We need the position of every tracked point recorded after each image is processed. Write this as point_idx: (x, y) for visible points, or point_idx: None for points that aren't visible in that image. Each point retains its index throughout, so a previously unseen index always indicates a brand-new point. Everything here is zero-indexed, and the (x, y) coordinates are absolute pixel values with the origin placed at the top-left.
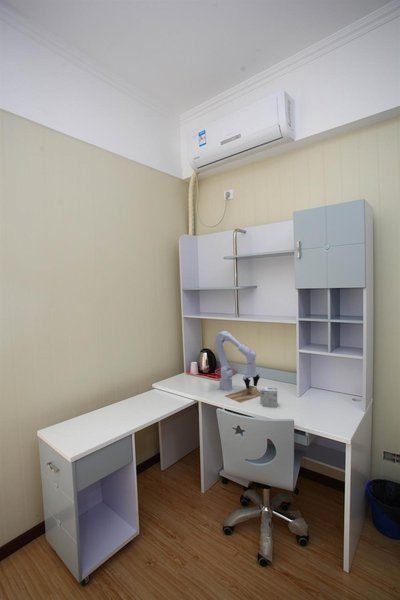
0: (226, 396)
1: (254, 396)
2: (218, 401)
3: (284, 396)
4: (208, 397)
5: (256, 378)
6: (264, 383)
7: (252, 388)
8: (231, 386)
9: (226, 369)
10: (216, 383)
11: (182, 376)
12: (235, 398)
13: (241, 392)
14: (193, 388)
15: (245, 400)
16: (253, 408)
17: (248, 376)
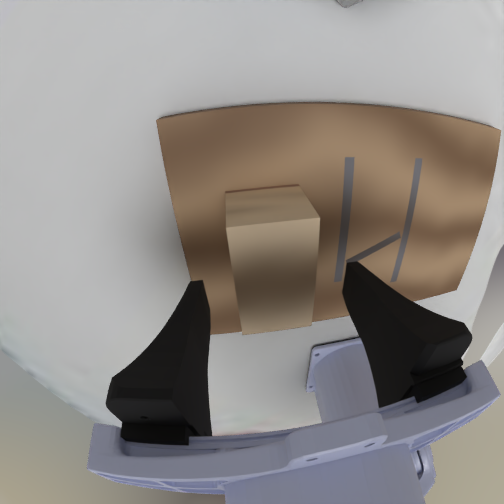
0: (458, 277)
1: (331, 135)
2: (497, 253)
3: (18, 30)
4: (470, 314)
5: (188, 387)
6: (43, 339)
7: (308, 244)
8: (351, 373)
9: (422, 485)
10: (298, 421)
11: None
12: (465, 216)
13: (339, 291)
14: None
15: (459, 129)
16: (472, 10)
17: (459, 414)
